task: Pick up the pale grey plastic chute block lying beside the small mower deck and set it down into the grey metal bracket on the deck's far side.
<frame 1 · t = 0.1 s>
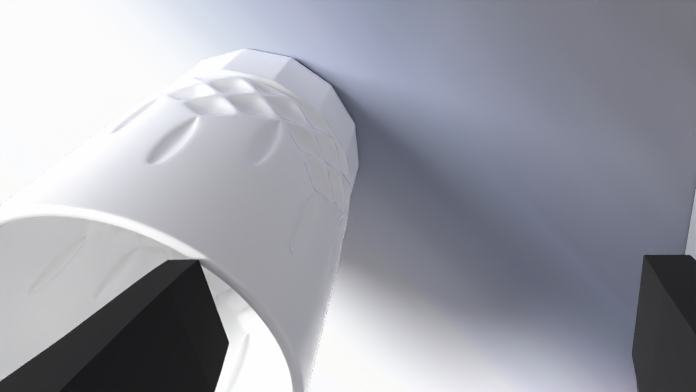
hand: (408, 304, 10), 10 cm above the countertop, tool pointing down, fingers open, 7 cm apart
white cup: (266, 138, 21), on the countertop
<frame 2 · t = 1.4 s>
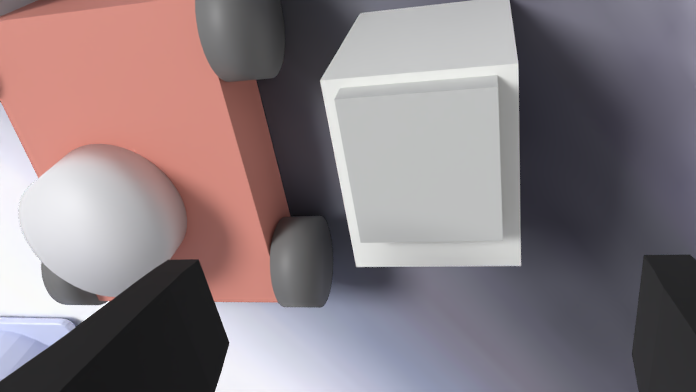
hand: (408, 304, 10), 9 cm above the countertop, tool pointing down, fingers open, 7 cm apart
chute: (439, 90, 17), on the countertop
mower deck: (172, 140, 20), on the countertop
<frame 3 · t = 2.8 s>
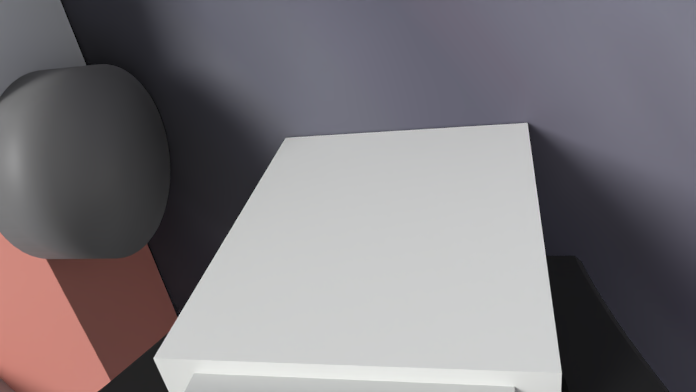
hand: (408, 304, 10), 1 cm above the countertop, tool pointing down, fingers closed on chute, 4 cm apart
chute: (415, 251, 11), on the countertop, touching gripper
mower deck: (31, 291, 14), on the countertop
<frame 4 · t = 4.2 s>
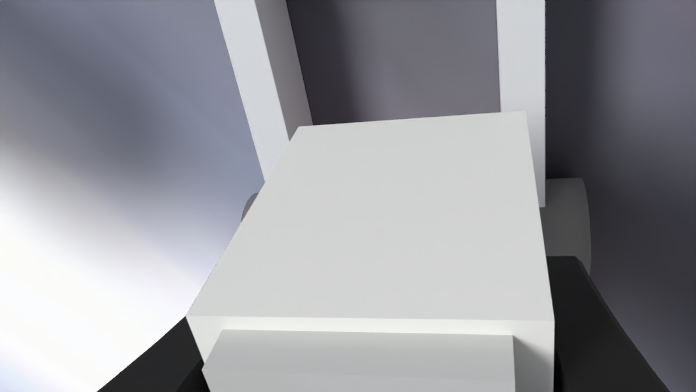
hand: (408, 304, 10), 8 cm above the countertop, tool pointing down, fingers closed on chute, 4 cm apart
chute: (421, 235, 12), point 6 cm above the countertop, touching gripper
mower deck: (428, 302, 21), on the countertop
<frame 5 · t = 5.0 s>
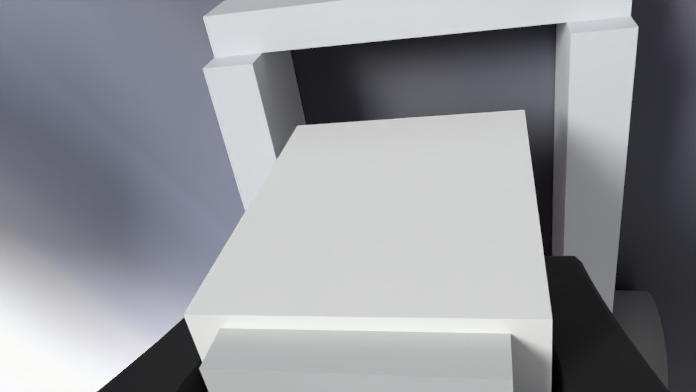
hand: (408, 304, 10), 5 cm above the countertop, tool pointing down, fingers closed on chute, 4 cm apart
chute: (419, 234, 12), point 3 cm above the countertop, touching gripper
when the fingers open (3 cm above the countertop, at t = 5.7 s): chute stays where it is, resting in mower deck.
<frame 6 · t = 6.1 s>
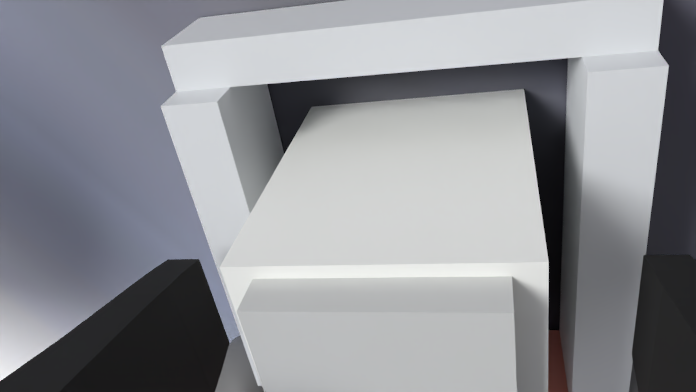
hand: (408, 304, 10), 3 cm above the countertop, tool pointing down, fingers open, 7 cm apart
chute: (426, 207, 13), resting in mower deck
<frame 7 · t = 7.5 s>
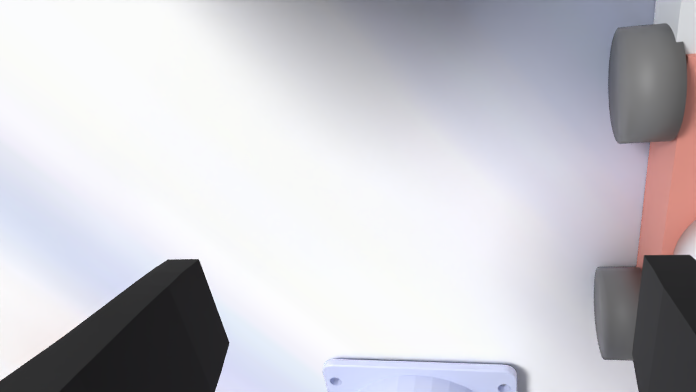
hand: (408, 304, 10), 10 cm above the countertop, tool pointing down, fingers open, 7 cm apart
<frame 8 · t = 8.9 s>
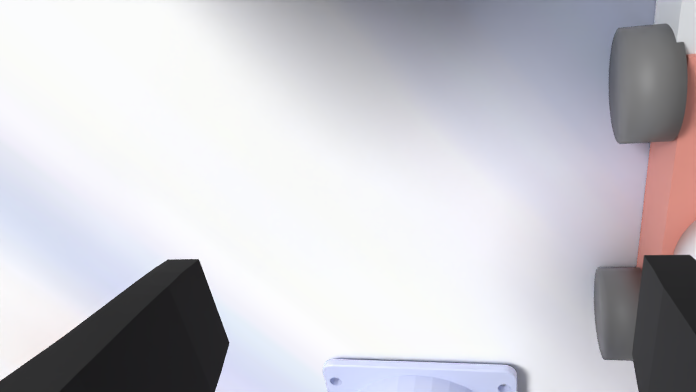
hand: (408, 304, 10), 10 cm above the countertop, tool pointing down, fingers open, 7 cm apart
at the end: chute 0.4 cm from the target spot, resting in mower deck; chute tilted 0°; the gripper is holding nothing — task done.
